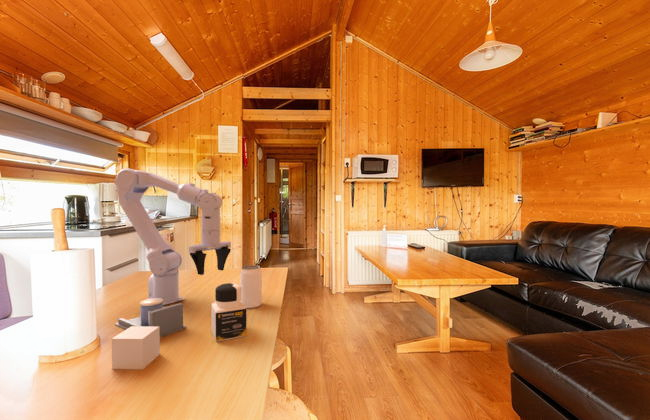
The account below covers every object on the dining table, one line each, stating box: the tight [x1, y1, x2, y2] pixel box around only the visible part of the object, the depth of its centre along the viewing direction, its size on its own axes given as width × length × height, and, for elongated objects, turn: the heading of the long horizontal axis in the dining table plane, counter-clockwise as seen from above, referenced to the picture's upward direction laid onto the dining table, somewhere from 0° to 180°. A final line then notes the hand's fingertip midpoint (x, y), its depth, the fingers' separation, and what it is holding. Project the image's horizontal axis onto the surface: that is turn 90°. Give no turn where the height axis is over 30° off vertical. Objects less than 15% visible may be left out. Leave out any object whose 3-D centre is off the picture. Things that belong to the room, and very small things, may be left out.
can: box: [239, 264, 263, 310], centre depth 98 cm, size 6×6×12 cm
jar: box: [139, 298, 164, 326], centre depth 80 cm, size 5×5×6 cm
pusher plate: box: [148, 305, 167, 326], centre depth 79 cm, size 1×4×4 cm, turn 148°
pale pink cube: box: [111, 326, 161, 370], centre depth 63 cm, size 6×6×6 cm
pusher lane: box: [114, 302, 187, 338], centre depth 81 cm, size 17×9×6 cm, turn 57°
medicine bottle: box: [210, 282, 248, 343], centre depth 76 cm, size 7×7×12 cm
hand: (211, 272), depth 102 cm, fingers open, 7 cm apart
